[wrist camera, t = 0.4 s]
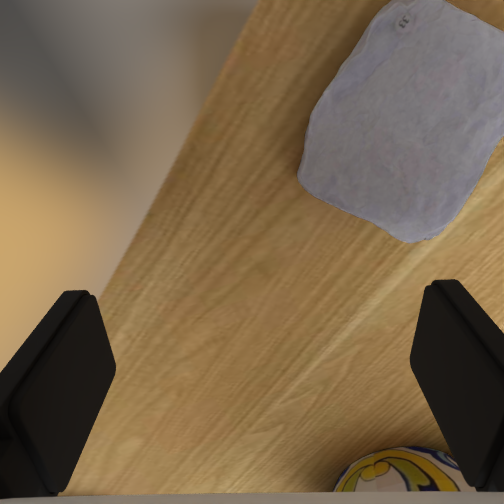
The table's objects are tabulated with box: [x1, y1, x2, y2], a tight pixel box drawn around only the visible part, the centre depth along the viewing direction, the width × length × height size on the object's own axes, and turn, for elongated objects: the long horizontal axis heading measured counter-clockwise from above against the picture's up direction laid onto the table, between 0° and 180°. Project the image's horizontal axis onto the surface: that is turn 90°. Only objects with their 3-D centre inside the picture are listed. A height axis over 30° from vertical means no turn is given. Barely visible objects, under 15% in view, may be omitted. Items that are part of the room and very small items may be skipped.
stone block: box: [297, 0, 504, 243], centre depth 21 cm, size 12×5×10 cm
